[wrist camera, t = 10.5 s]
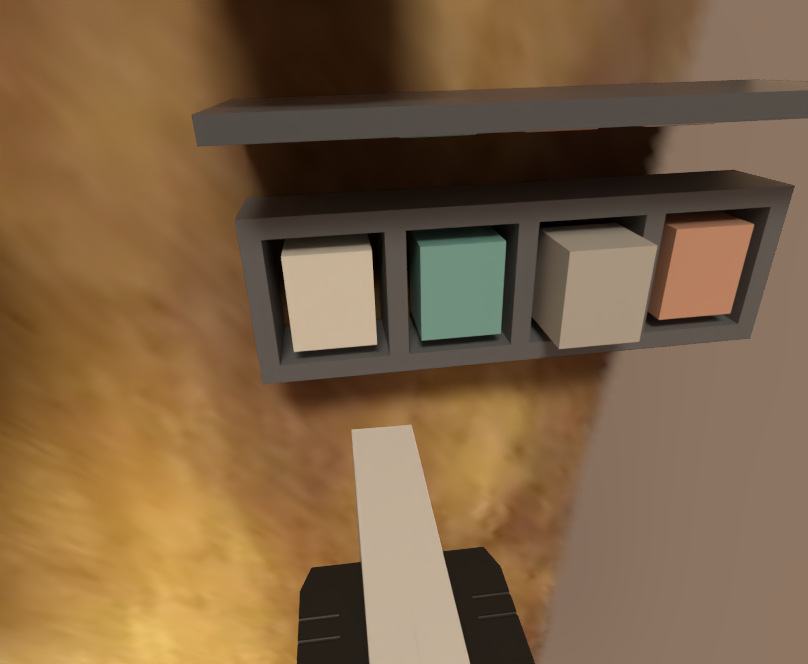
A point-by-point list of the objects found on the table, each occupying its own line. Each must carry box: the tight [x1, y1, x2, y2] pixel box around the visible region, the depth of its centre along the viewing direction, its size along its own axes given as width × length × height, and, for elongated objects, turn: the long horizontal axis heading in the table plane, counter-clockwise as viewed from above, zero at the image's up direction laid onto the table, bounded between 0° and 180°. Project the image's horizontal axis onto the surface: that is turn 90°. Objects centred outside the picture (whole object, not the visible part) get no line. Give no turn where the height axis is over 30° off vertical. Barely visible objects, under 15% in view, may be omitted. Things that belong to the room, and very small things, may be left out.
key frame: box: [235, 170, 795, 384], centre depth 29 cm, size 27×9×4 cm, turn 92°
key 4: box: [648, 210, 754, 320], centre depth 30 cm, size 4×5×4 cm
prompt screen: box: [192, 80, 808, 146], centre depth 24 cm, size 27×1×9 cm, turn 92°
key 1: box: [281, 233, 377, 352], centre depth 28 cm, size 4×5×4 cm
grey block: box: [531, 223, 658, 349], centre depth 27 cm, size 4×5×4 cm
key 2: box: [408, 225, 506, 341], centre depth 29 cm, size 4×5×4 cm
